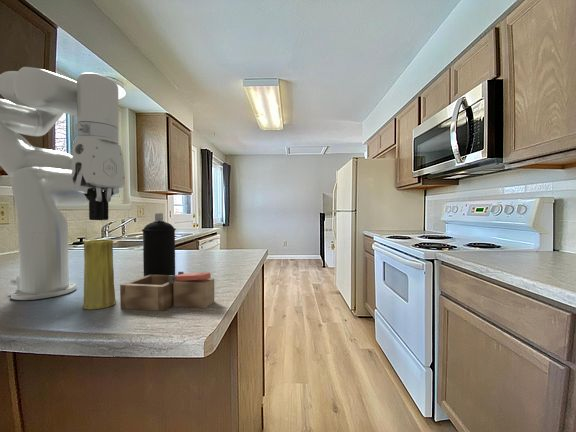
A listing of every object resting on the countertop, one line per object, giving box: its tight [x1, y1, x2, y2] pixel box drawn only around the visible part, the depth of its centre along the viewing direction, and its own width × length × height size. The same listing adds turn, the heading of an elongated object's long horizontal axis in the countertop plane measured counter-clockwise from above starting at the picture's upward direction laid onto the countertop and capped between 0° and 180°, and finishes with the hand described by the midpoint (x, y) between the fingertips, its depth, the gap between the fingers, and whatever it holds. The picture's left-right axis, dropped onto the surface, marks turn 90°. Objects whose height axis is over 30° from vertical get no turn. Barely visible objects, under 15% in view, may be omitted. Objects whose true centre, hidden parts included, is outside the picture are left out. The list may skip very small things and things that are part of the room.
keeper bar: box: [174, 271, 212, 281], centre depth 64 cm, size 8×3×1 cm, turn 80°
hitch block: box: [119, 271, 215, 312], centre depth 65 cm, size 18×10×7 cm, turn 81°
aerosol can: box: [141, 212, 176, 277], centre depth 77 cm, size 8×8×20 cm
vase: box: [82, 238, 117, 311], centre depth 63 cm, size 6×6×14 cm
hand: (98, 219), depth 63 cm, fingers closed
